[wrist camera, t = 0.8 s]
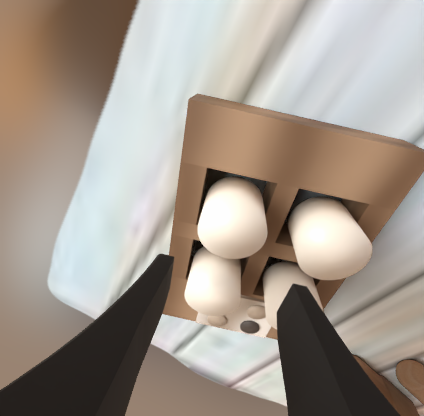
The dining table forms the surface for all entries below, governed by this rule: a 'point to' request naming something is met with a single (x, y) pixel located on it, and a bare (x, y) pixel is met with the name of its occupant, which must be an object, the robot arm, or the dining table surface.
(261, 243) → the button
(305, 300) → the robot arm
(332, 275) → the button
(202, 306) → the button
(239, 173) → the button board
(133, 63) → the dining table surface
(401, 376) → the wooden block set
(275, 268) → the button
